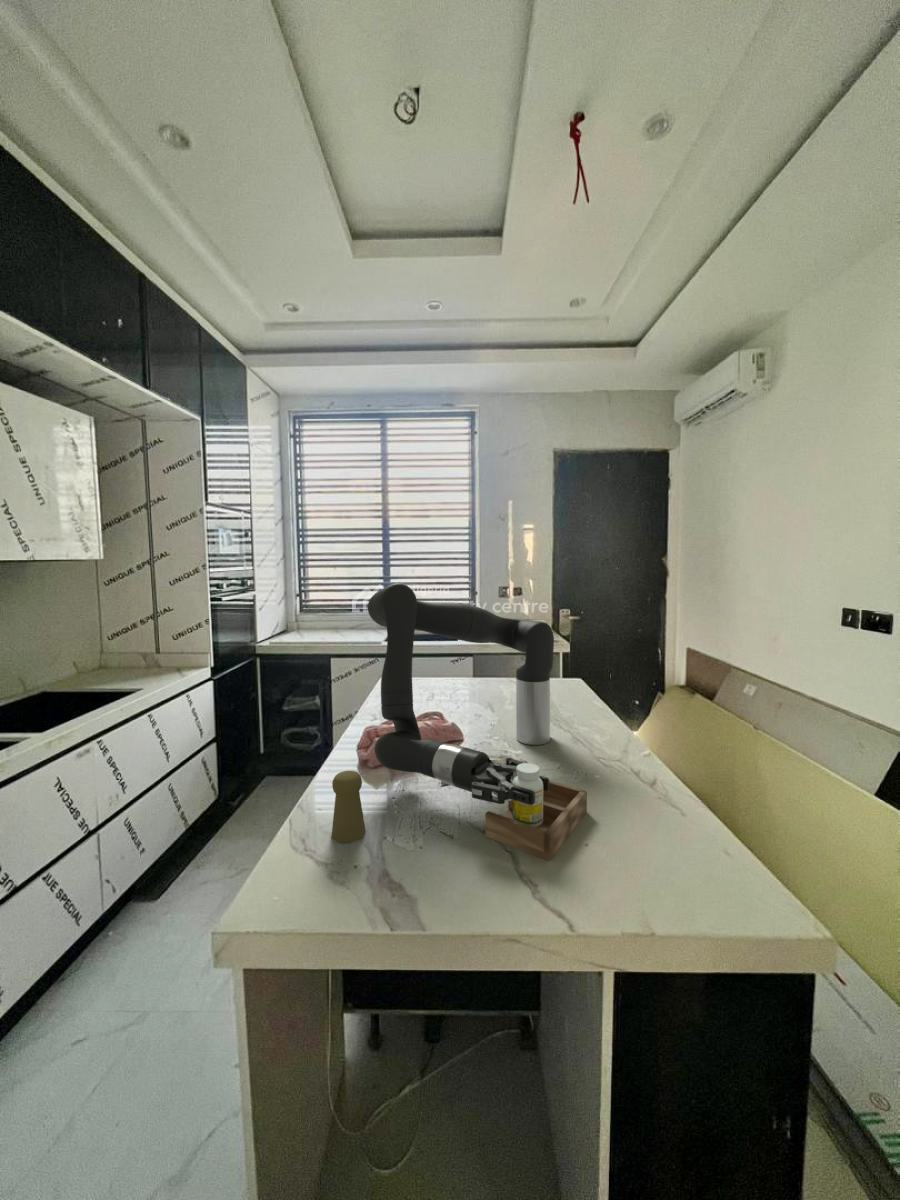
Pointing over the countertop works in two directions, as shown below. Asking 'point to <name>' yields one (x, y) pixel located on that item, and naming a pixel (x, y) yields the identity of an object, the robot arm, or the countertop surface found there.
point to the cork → (347, 808)
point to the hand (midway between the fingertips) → (541, 791)
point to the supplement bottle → (530, 781)
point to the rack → (558, 822)
